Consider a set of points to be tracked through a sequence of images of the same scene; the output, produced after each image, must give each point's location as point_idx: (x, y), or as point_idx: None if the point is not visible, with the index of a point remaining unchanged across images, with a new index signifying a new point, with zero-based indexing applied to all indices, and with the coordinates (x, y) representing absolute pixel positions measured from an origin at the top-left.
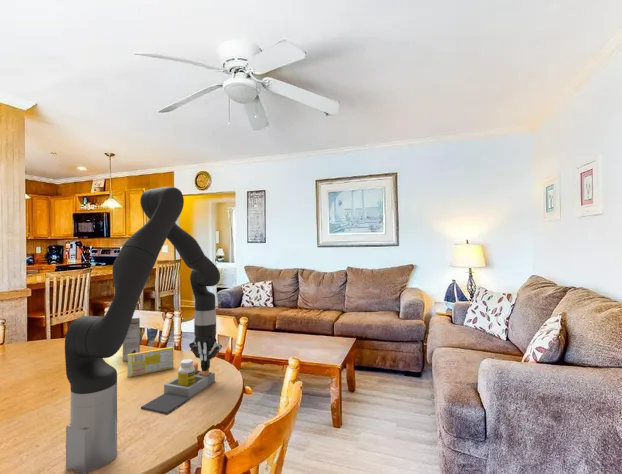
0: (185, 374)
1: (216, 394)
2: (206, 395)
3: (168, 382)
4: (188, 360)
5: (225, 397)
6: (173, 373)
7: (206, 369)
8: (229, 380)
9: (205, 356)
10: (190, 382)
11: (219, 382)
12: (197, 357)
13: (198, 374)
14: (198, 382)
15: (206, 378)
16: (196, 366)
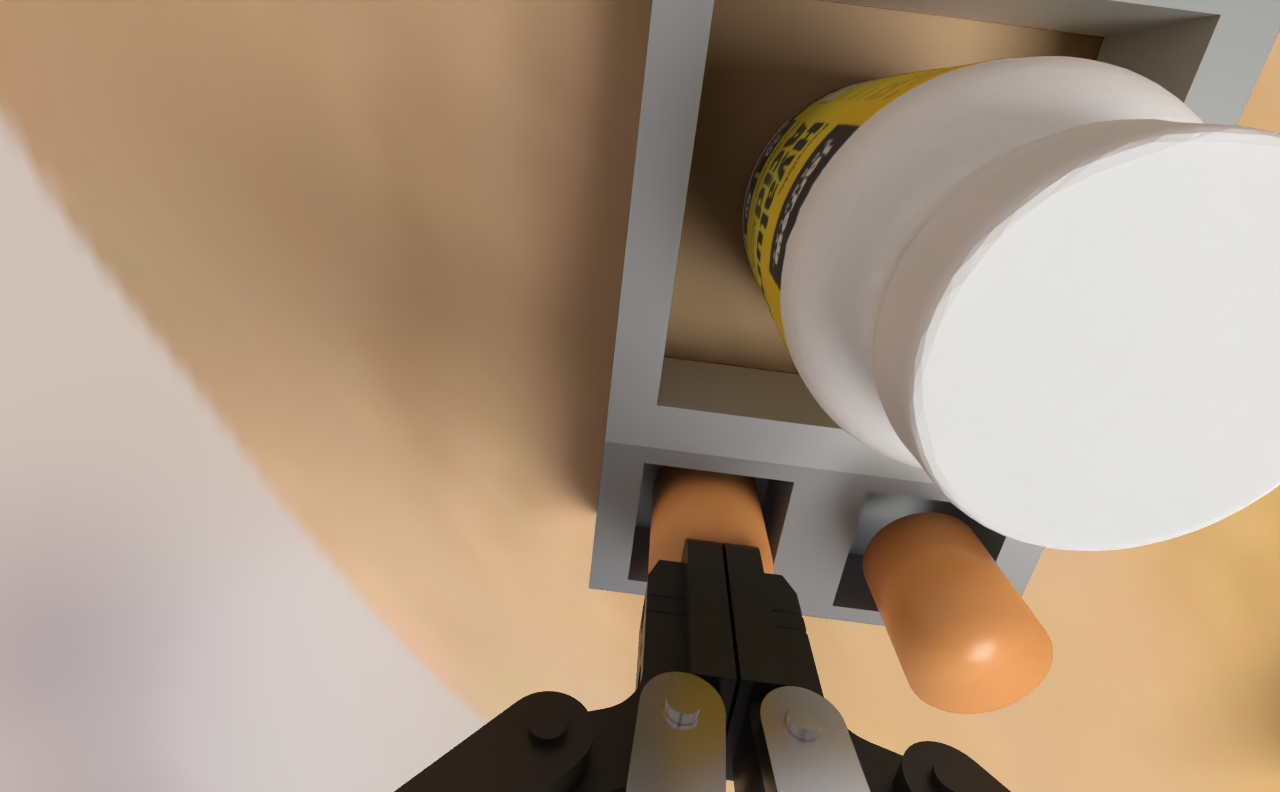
0: (917, 78)
1: (341, 163)
2: (457, 97)
3: (1246, 80)
4: (1090, 430)
5: (158, 100)
6: (1262, 626)
7: (670, 561)
8: (441, 564)
9: (678, 775)
10: (778, 160)
11: (526, 498)
12: (929, 754)
13: (810, 502)
14: (641, 214)
15: (609, 405)
16: (903, 616)
